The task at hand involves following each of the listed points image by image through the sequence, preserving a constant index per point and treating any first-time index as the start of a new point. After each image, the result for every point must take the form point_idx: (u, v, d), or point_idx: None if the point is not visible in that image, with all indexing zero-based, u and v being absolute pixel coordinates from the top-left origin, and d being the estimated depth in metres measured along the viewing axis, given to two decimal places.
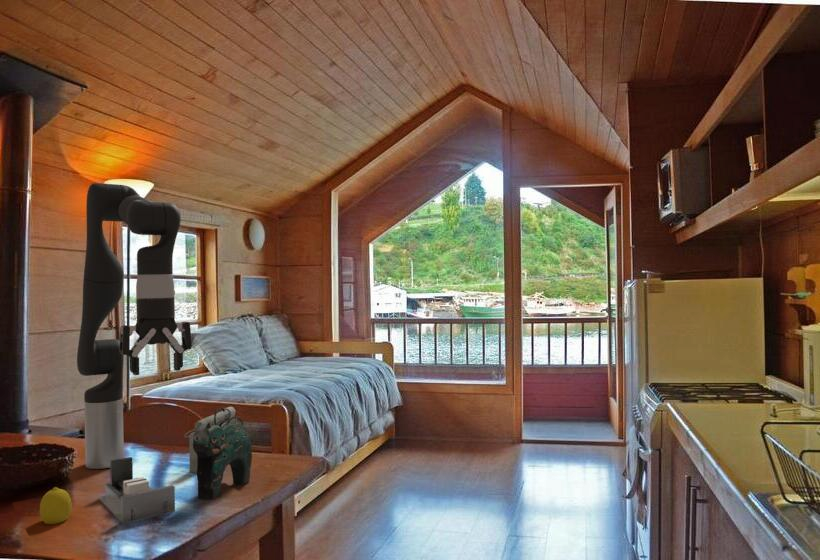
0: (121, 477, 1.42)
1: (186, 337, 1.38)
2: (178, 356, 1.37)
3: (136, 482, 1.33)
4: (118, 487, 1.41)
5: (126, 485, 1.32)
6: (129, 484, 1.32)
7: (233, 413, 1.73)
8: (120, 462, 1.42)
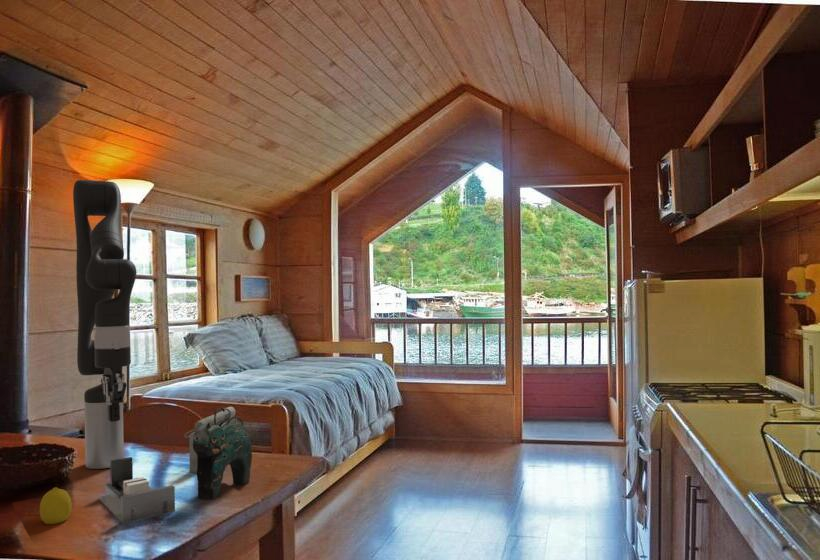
0: (121, 477, 1.42)
1: None
2: None
3: (136, 482, 1.33)
4: (118, 487, 1.41)
5: (126, 485, 1.32)
6: (129, 484, 1.32)
7: (233, 413, 1.73)
8: (120, 462, 1.42)
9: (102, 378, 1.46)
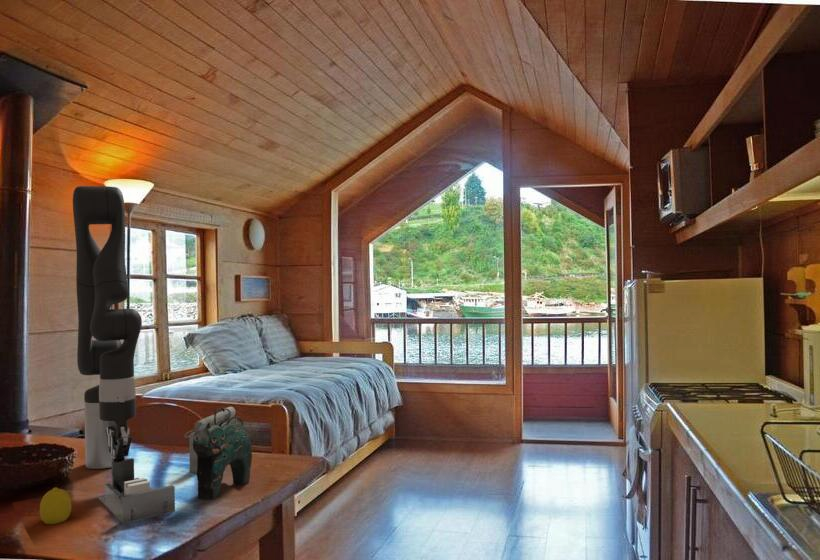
0: (122, 478, 1.41)
1: None
2: None
3: (137, 483, 1.32)
4: (119, 488, 1.40)
5: (127, 486, 1.31)
6: (130, 485, 1.31)
7: (233, 413, 1.73)
8: (122, 463, 1.41)
9: (107, 430, 1.44)
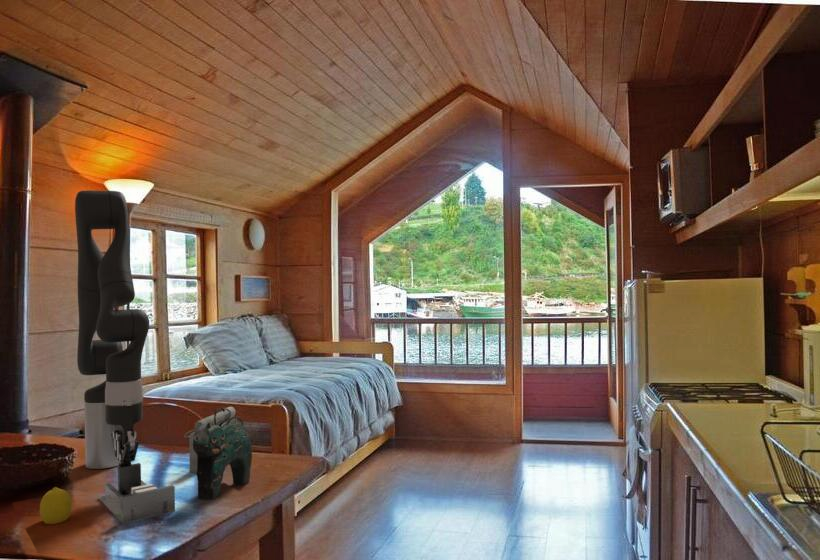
0: (129, 484, 1.37)
1: None
2: None
3: (144, 489, 1.28)
4: (126, 494, 1.36)
5: (134, 492, 1.27)
6: (137, 491, 1.27)
7: (233, 413, 1.73)
8: (128, 468, 1.37)
9: (113, 434, 1.40)
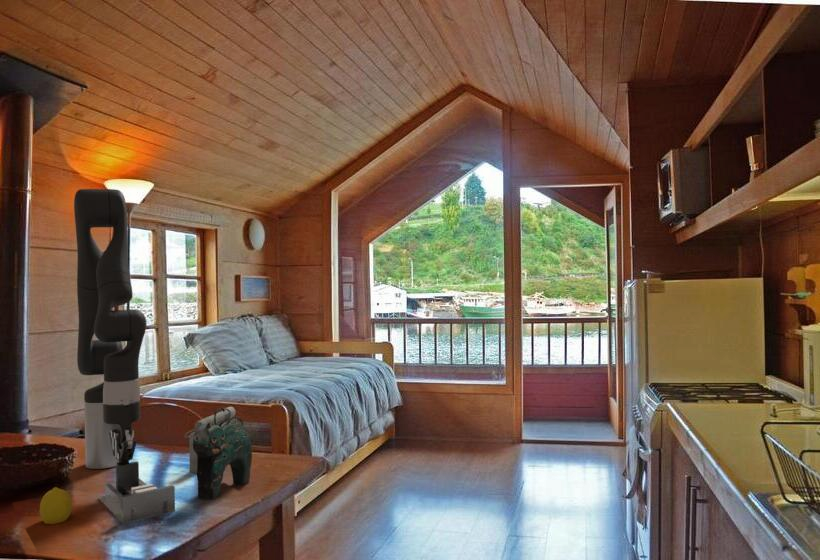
0: (126, 482, 1.38)
1: None
2: None
3: (144, 489, 1.28)
4: (124, 492, 1.37)
5: (134, 492, 1.27)
6: (137, 491, 1.27)
7: (233, 413, 1.73)
8: (126, 467, 1.38)
9: (111, 433, 1.41)
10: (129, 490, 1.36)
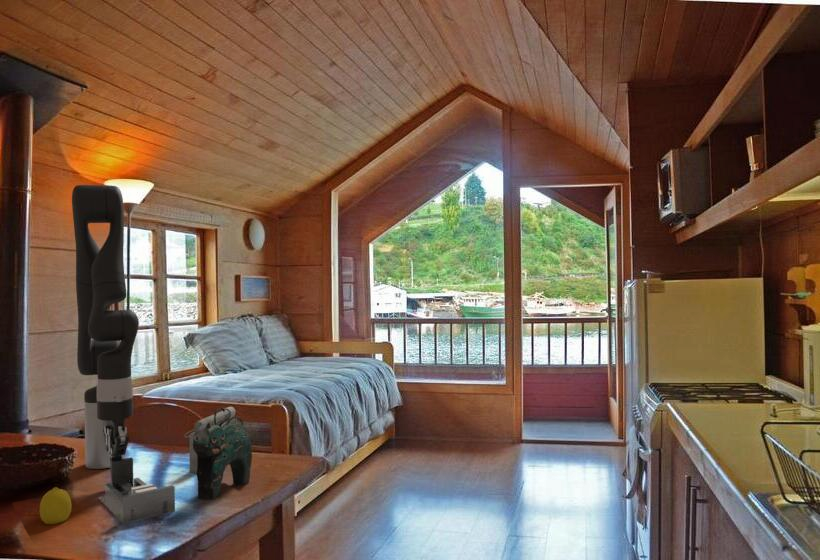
0: (121, 477, 1.41)
1: None
2: None
3: (144, 489, 1.28)
4: (118, 487, 1.40)
5: (134, 492, 1.27)
6: (137, 491, 1.27)
7: (233, 413, 1.73)
8: (121, 462, 1.41)
9: (104, 429, 1.46)
10: (123, 485, 1.39)
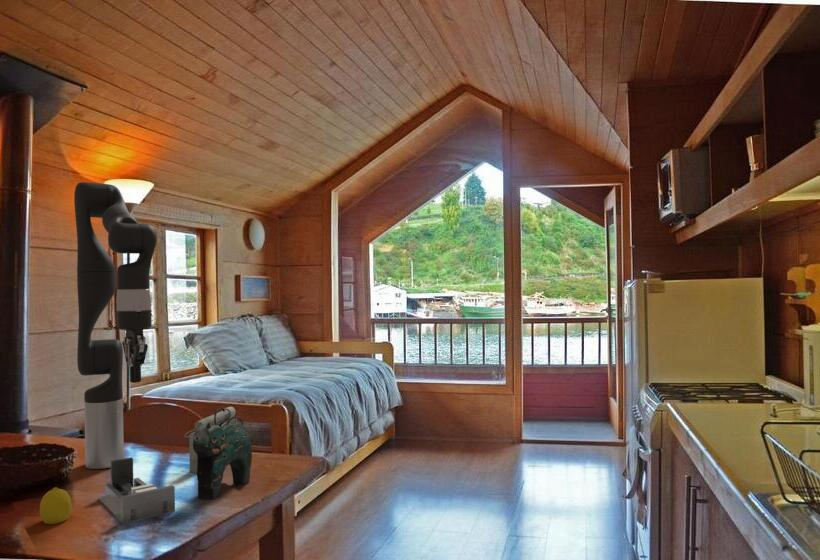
0: (121, 477, 1.41)
1: None
2: None
3: (144, 489, 1.28)
4: (118, 487, 1.40)
5: (134, 492, 1.27)
6: (137, 491, 1.27)
7: (233, 413, 1.73)
8: (121, 462, 1.41)
9: (124, 340, 1.49)
10: (123, 485, 1.39)
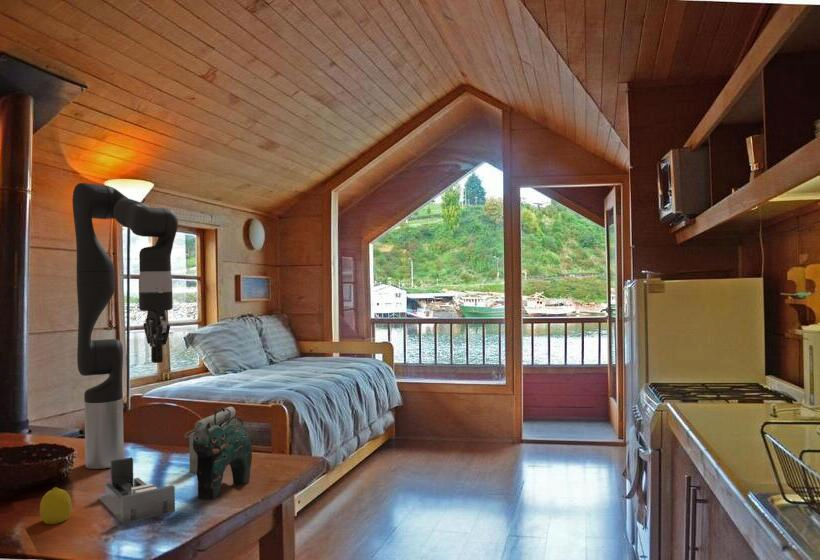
0: (121, 477, 1.41)
1: None
2: None
3: (144, 489, 1.28)
4: (118, 487, 1.40)
5: (134, 492, 1.27)
6: (137, 491, 1.27)
7: (233, 413, 1.73)
8: (121, 462, 1.41)
9: (146, 322, 1.53)
10: (123, 485, 1.39)
